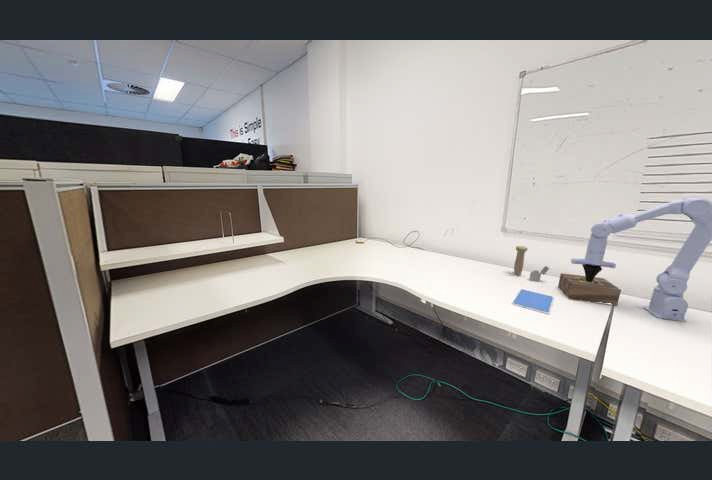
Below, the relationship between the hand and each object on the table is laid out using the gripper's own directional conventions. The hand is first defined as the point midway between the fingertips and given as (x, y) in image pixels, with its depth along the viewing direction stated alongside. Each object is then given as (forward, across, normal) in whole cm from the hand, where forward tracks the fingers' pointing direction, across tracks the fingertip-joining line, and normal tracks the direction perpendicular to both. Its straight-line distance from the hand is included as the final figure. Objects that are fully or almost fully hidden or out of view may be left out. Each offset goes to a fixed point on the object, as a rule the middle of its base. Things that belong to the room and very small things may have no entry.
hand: (588, 281), depth 114 cm
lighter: (+7, -15, +12) cm, 20 cm away
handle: (+7, -23, +18) cm, 30 cm away
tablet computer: (+8, -23, -16) cm, 29 cm away
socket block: (+7, 0, 0) cm, 7 cm away
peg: (+6, 0, 0) cm, 6 cm away
